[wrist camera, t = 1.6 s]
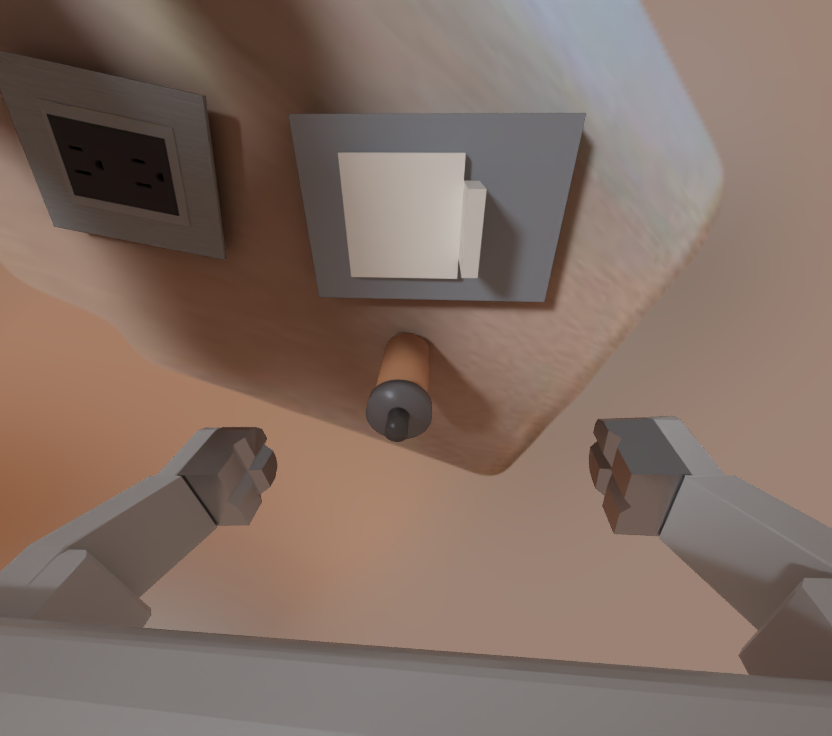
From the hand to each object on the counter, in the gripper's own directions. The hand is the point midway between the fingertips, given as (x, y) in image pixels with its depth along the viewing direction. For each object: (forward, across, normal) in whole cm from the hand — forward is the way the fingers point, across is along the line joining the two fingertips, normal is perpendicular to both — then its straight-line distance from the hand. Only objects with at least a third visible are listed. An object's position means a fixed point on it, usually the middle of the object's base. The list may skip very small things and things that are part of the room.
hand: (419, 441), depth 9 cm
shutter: (+20, +2, -2) cm, 20 cm away
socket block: (+22, +1, -2) cm, 23 cm away
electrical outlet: (+22, +22, -8) cm, 32 cm away
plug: (+23, +4, +10) cm, 25 cm away
